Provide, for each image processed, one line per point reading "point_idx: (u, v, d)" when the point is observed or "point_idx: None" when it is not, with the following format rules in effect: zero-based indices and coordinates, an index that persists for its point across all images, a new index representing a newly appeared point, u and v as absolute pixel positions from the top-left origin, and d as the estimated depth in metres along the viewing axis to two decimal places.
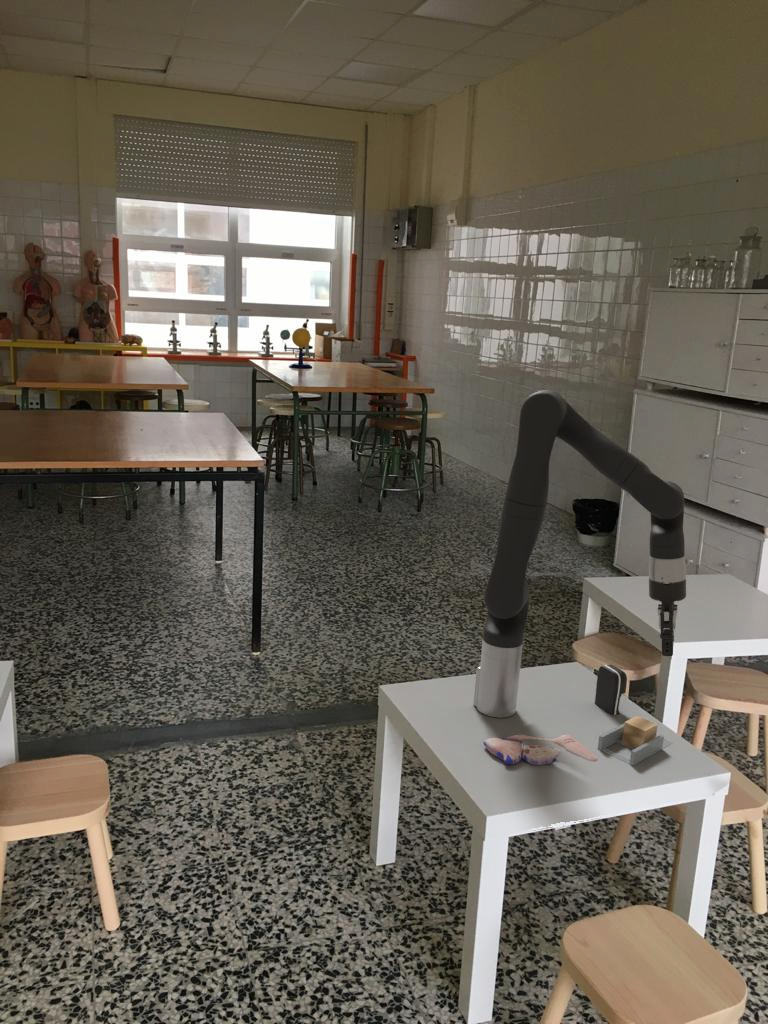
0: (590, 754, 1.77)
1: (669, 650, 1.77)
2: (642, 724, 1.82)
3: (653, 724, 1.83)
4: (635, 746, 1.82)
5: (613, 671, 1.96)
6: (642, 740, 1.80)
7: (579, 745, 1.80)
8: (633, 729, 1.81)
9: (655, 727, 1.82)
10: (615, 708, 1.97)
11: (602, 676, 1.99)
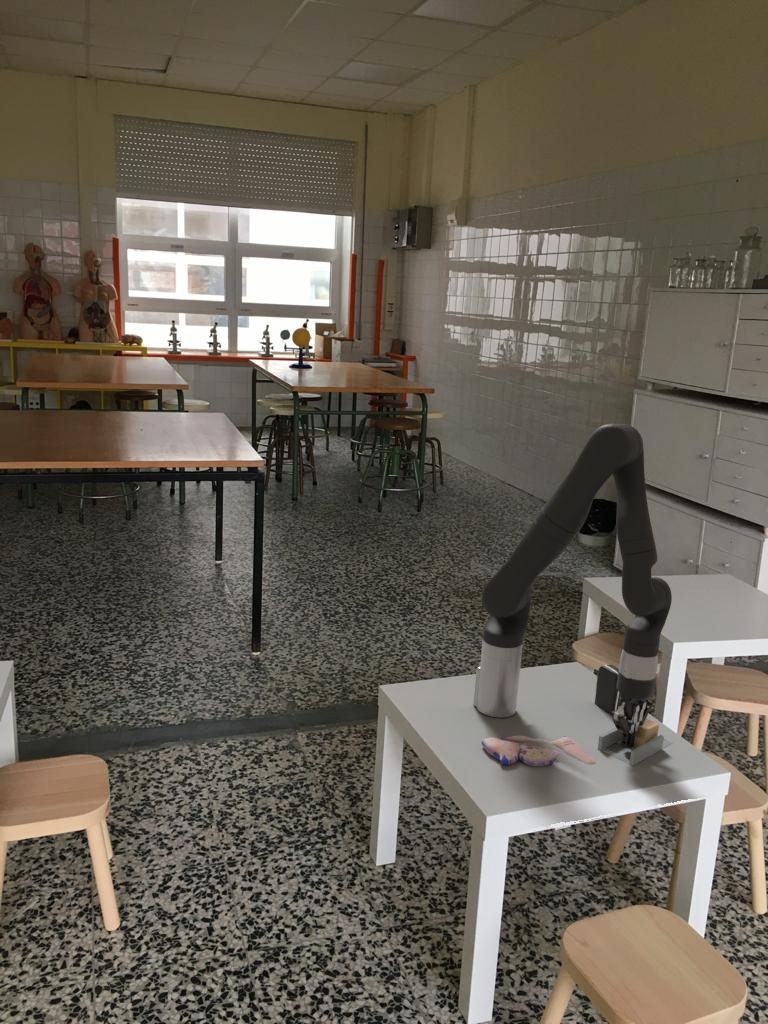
0: (588, 757, 1.76)
1: (626, 742, 1.79)
2: None
3: (654, 724, 1.83)
4: (636, 745, 1.82)
5: (613, 671, 1.96)
6: (643, 739, 1.80)
7: (578, 747, 1.79)
8: None
9: (656, 727, 1.82)
10: (615, 708, 1.97)
11: (602, 676, 1.99)
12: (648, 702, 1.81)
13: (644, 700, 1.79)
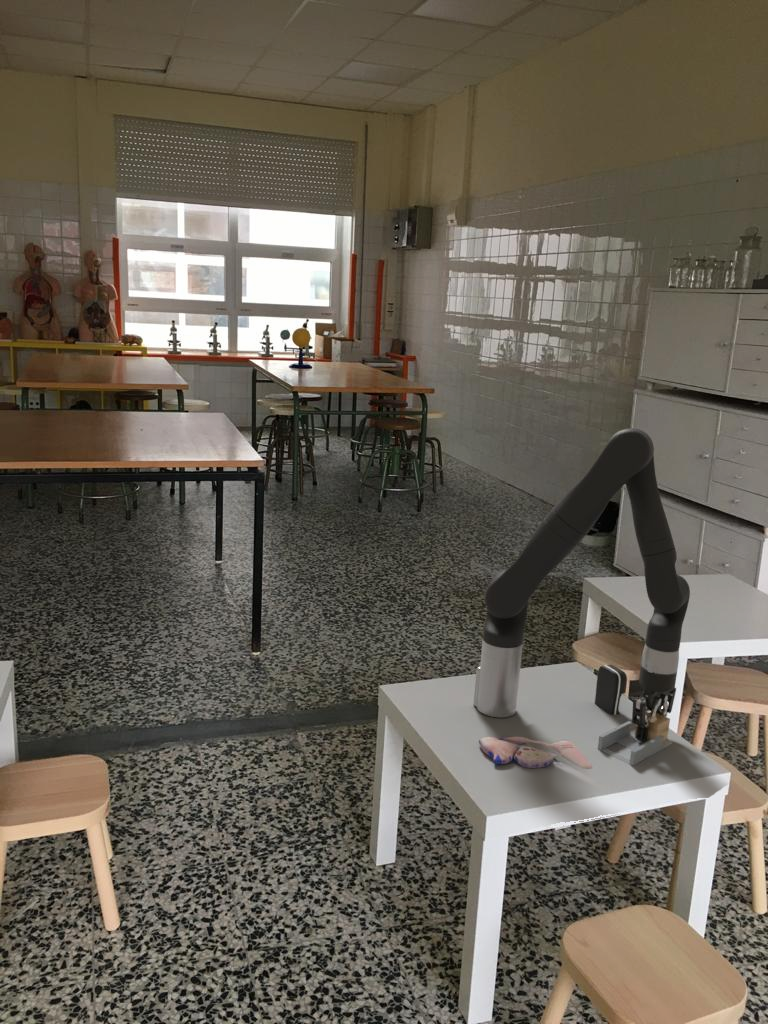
0: (584, 761, 1.74)
1: (641, 736, 1.83)
2: (654, 718, 1.85)
3: (665, 718, 1.86)
4: (648, 740, 1.85)
5: (613, 671, 1.96)
6: (655, 734, 1.83)
7: (576, 751, 1.78)
8: None
9: (667, 721, 1.85)
10: (615, 708, 1.97)
11: (602, 676, 1.99)
12: None
13: (666, 694, 1.85)
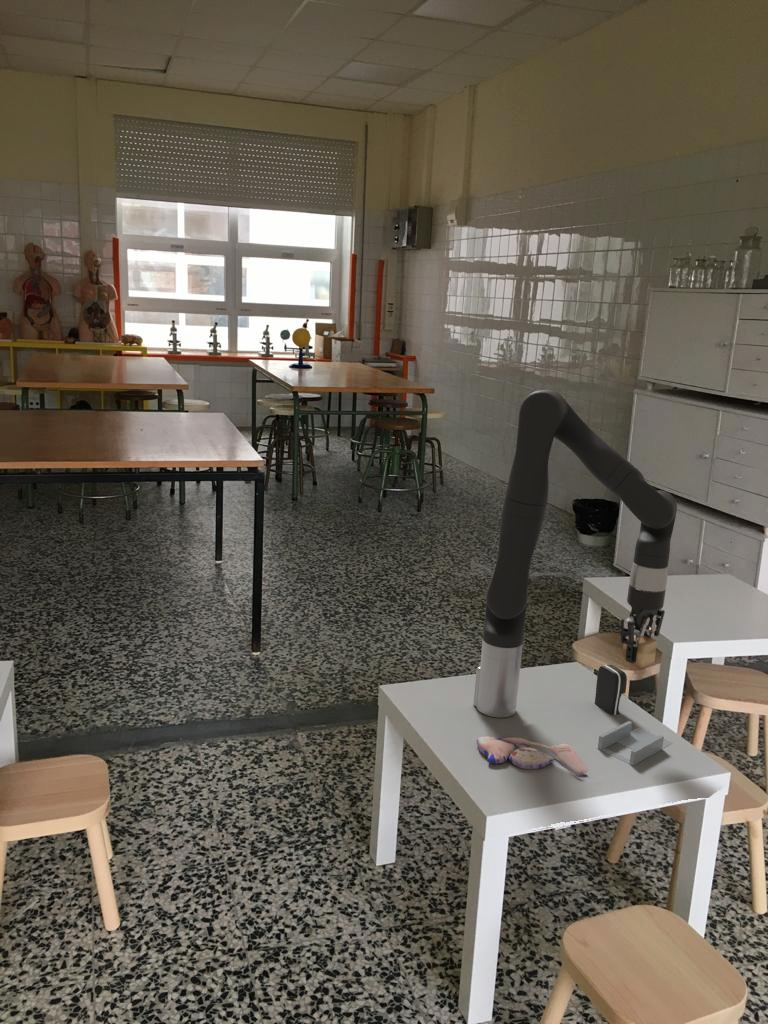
0: (580, 765, 1.73)
1: (630, 656, 1.81)
2: (641, 640, 1.82)
3: (653, 640, 1.83)
4: None
5: (613, 671, 1.96)
6: (642, 655, 1.80)
7: (573, 755, 1.76)
8: None
9: (655, 643, 1.82)
10: (615, 708, 1.97)
11: (602, 676, 1.99)
12: (659, 612, 1.85)
13: (654, 614, 1.83)
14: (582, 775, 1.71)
